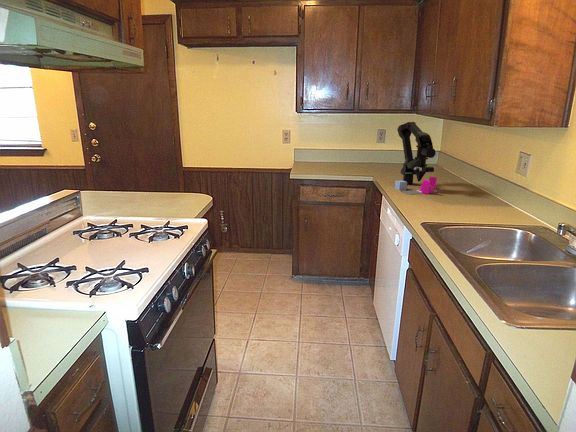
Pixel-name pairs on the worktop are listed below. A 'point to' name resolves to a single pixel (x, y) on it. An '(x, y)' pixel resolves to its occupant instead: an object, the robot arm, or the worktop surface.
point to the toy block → (428, 185)
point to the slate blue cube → (401, 185)
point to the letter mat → (418, 191)
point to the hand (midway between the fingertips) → (418, 181)
